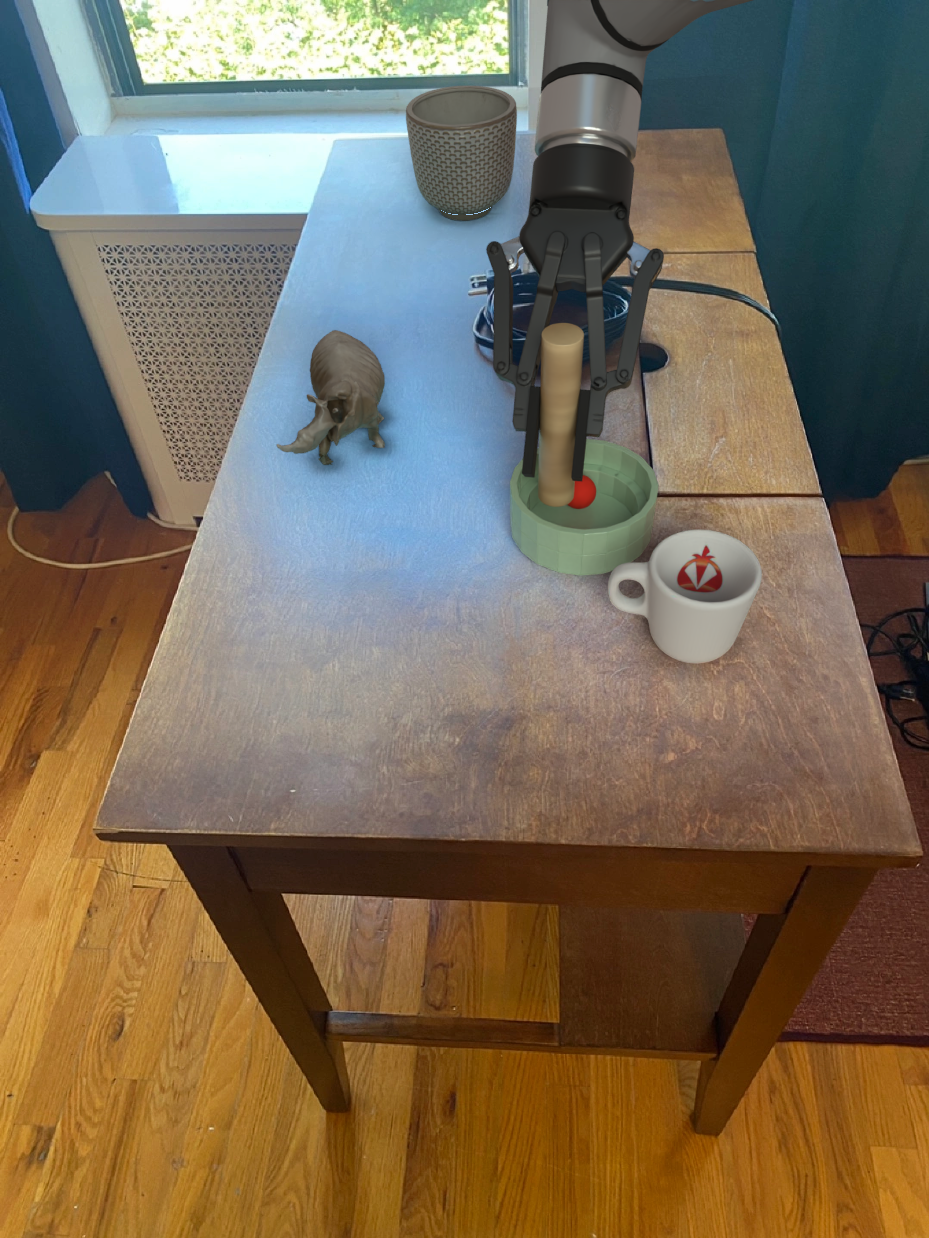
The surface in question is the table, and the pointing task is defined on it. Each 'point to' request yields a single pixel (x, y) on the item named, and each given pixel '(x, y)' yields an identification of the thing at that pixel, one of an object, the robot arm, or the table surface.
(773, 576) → the table surface
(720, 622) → the cup
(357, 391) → the grey animal figure
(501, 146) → the planter
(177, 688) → the table surface
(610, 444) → the bowl
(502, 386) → the table surface
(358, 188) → the table surface
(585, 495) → the cherry tomato
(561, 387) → the tan wooden cylinder
